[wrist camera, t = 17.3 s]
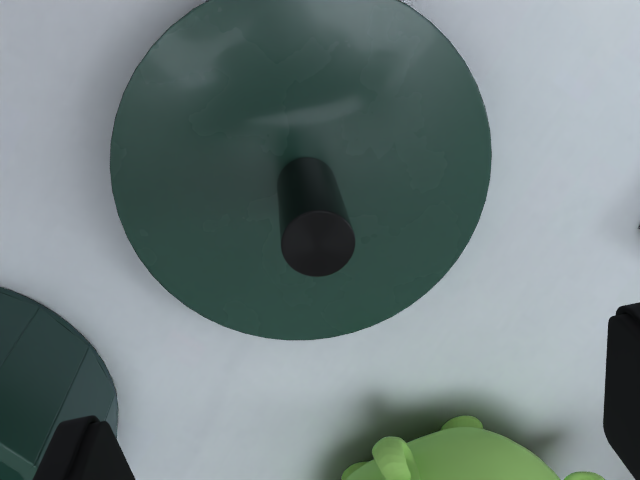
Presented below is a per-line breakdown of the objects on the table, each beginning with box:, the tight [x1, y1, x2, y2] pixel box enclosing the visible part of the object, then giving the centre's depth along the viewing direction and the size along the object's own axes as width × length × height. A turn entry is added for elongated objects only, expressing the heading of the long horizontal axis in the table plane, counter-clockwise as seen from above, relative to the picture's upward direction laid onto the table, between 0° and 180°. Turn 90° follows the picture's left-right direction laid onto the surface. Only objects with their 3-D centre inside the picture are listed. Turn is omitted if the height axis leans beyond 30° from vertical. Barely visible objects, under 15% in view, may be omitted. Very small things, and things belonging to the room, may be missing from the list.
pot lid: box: [110, 0, 492, 340], centre depth 21 cm, size 15×15×7 cm
